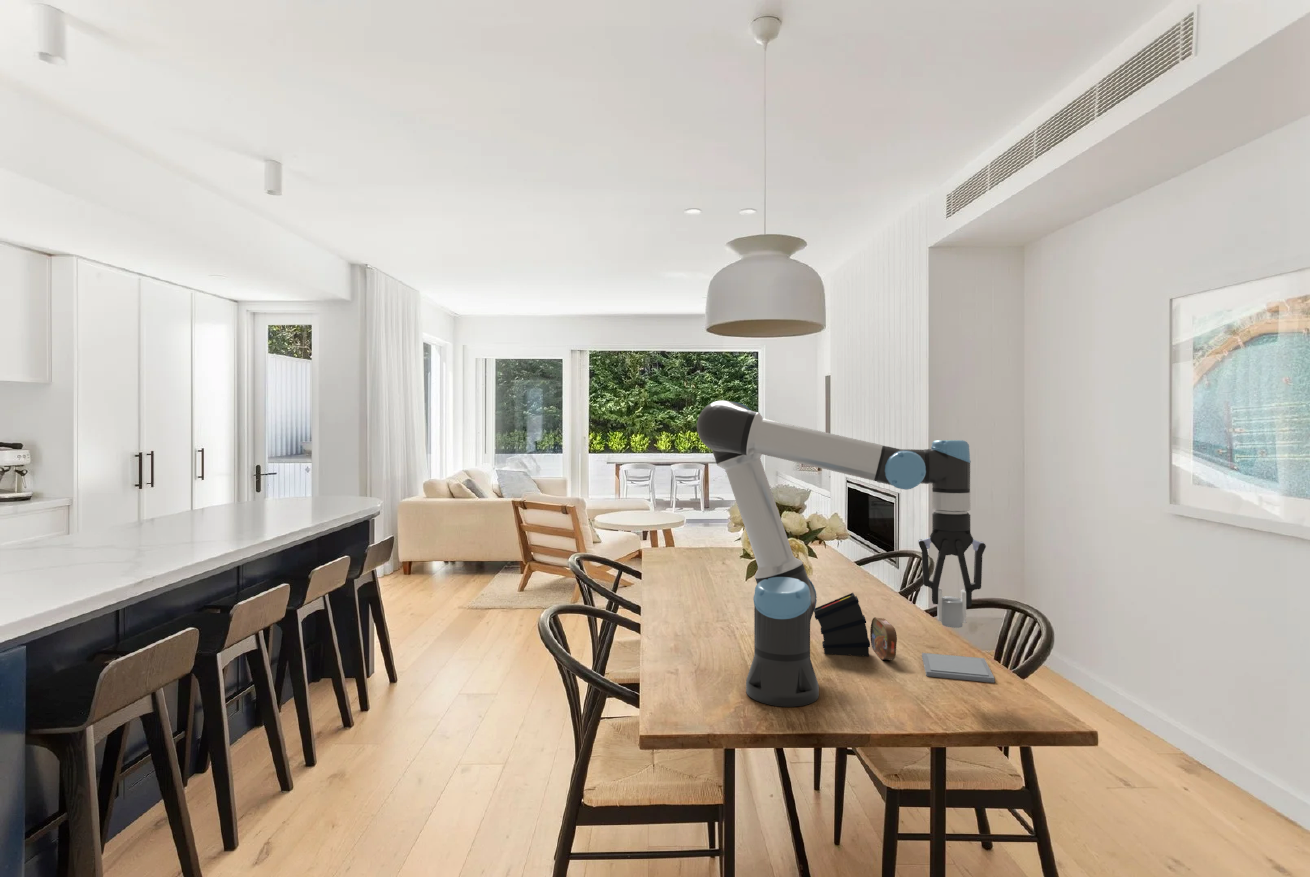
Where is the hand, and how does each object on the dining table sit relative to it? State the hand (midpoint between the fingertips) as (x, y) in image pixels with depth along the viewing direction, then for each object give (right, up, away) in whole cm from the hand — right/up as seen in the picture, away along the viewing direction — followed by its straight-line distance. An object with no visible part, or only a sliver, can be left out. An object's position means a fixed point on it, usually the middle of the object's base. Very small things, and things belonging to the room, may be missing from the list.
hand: (951, 619), depth 147 cm
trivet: (+6, -15, +12) cm, 20 cm away
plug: (0, -1, +1) cm, 1 cm away
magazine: (-17, -15, +24) cm, 33 cm away
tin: (-7, -15, +23) cm, 28 cm away
